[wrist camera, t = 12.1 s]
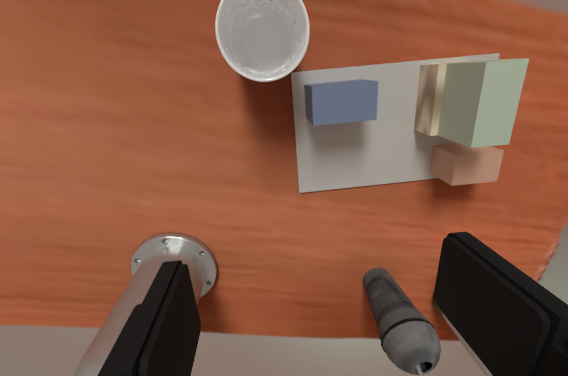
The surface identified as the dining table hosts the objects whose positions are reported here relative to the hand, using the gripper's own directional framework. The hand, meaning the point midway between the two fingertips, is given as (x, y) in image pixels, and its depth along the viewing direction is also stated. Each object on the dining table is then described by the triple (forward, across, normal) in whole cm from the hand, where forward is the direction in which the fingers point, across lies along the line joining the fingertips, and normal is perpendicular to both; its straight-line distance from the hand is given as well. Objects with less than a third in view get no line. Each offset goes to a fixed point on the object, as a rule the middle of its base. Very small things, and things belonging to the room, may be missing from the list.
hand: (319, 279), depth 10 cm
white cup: (+29, 0, -11) cm, 31 cm away
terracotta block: (+28, -25, +5) cm, 38 cm away
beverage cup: (+29, -16, +26) cm, 42 cm away
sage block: (+24, -22, -3) cm, 32 cm away
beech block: (+28, -22, -3) cm, 36 cm away
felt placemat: (+28, -16, 0) cm, 33 cm away
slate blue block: (+28, -8, -4) cm, 30 cm away
